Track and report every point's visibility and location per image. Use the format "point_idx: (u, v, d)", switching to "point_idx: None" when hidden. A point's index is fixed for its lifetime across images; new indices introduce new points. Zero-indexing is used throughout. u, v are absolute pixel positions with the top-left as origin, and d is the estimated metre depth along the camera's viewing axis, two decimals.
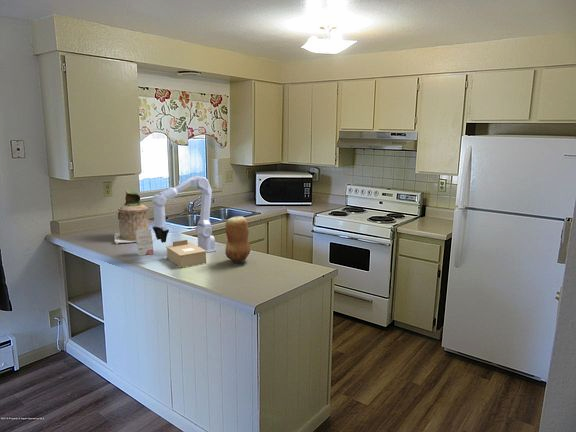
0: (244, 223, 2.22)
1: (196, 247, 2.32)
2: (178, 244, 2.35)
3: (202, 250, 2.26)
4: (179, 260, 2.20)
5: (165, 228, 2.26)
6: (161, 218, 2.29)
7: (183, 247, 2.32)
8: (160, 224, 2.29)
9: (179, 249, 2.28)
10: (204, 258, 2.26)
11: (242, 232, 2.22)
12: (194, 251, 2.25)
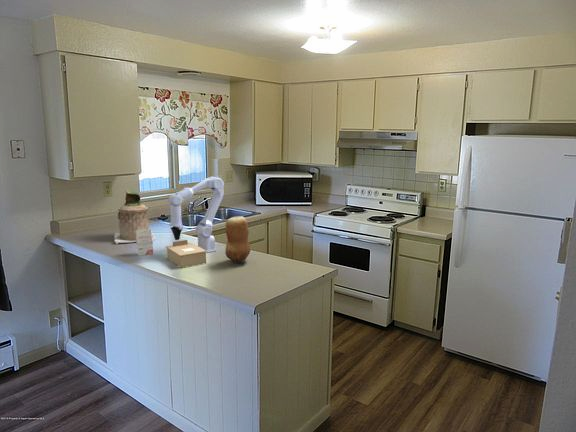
0: (244, 223, 2.22)
1: (196, 247, 2.32)
2: (178, 244, 2.35)
3: (202, 250, 2.26)
4: (179, 260, 2.20)
5: (181, 227, 2.32)
6: (178, 217, 2.35)
7: (183, 247, 2.32)
8: (176, 223, 2.35)
9: (179, 249, 2.28)
10: (204, 258, 2.26)
11: (242, 232, 2.22)
12: (194, 251, 2.25)
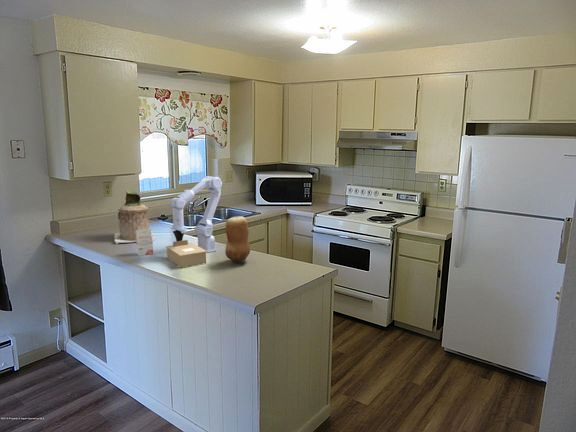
0: (244, 223, 2.22)
1: (196, 247, 2.32)
2: (178, 244, 2.35)
3: (202, 250, 2.26)
4: (179, 260, 2.20)
5: (184, 231, 2.30)
6: (180, 221, 2.32)
7: (183, 247, 2.32)
8: (179, 227, 2.33)
9: (180, 249, 2.28)
10: (204, 258, 2.26)
11: (242, 232, 2.22)
12: (194, 251, 2.24)
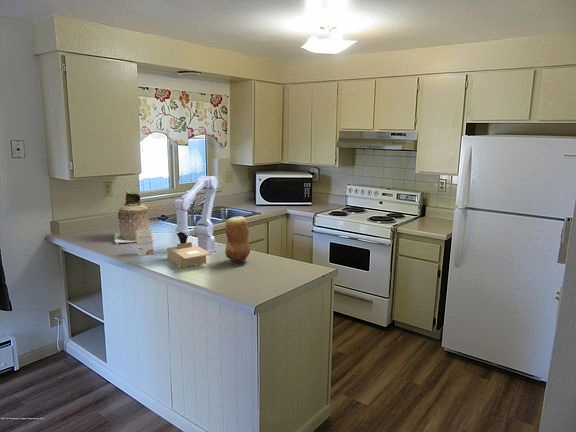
0: (244, 223, 2.22)
1: (201, 250, 2.27)
2: (182, 246, 2.30)
3: (207, 253, 2.22)
4: (179, 260, 2.20)
5: (188, 233, 2.25)
6: (184, 223, 2.28)
7: (187, 250, 2.27)
8: (183, 229, 2.28)
9: (184, 252, 2.23)
10: (204, 258, 2.26)
11: (242, 232, 2.22)
12: (199, 254, 2.20)
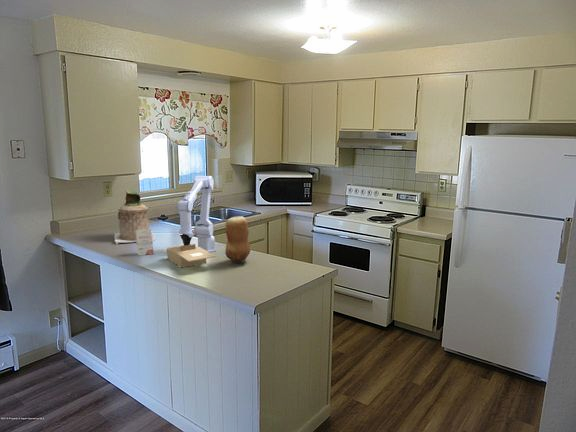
0: (244, 223, 2.22)
1: (205, 252, 2.23)
2: (186, 249, 2.26)
3: (211, 255, 2.18)
4: (179, 260, 2.20)
5: (192, 235, 2.21)
6: (188, 225, 2.24)
7: (191, 252, 2.23)
8: (186, 231, 2.24)
9: (187, 254, 2.19)
10: None
11: (242, 232, 2.22)
12: (203, 256, 2.16)
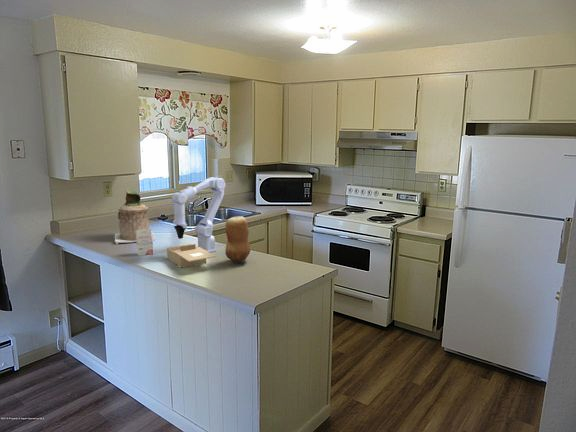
0: (244, 223, 2.22)
1: (205, 252, 2.23)
2: (186, 249, 2.26)
3: (211, 255, 2.18)
4: (179, 260, 2.20)
5: (185, 226, 2.31)
6: (181, 216, 2.33)
7: (191, 252, 2.23)
8: (180, 222, 2.33)
9: (188, 254, 2.19)
10: None
11: (242, 232, 2.22)
12: (203, 256, 2.16)
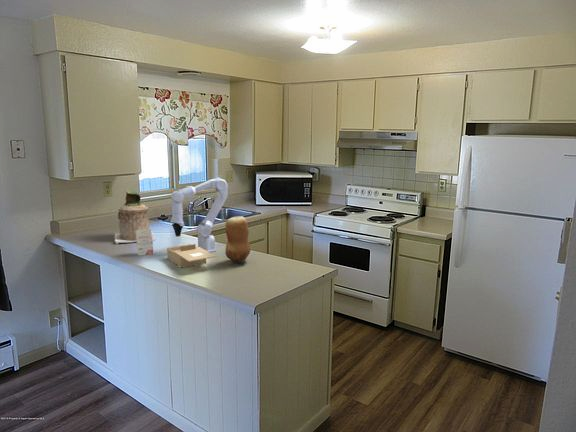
0: (244, 223, 2.22)
1: (205, 252, 2.23)
2: (186, 249, 2.26)
3: (211, 255, 2.18)
4: (179, 260, 2.20)
5: (182, 224, 2.35)
6: (179, 214, 2.37)
7: (191, 252, 2.23)
8: (178, 220, 2.38)
9: (188, 254, 2.19)
10: None
11: (242, 232, 2.22)
12: (203, 256, 2.16)
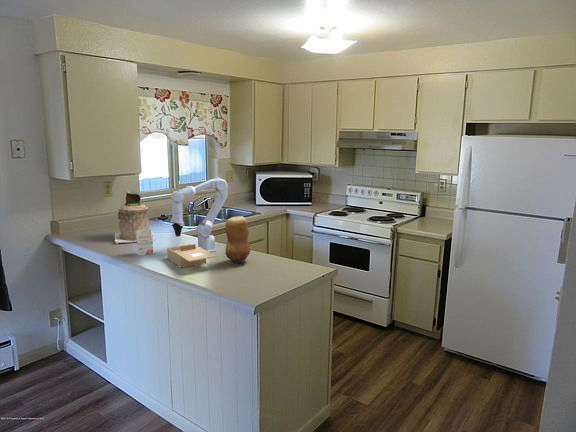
0: (244, 223, 2.22)
1: (205, 252, 2.23)
2: (186, 249, 2.26)
3: (211, 255, 2.18)
4: (179, 260, 2.20)
5: (182, 224, 2.35)
6: (179, 214, 2.37)
7: (191, 252, 2.23)
8: (178, 220, 2.38)
9: (188, 254, 2.19)
10: None
11: (242, 232, 2.22)
12: (203, 256, 2.16)
